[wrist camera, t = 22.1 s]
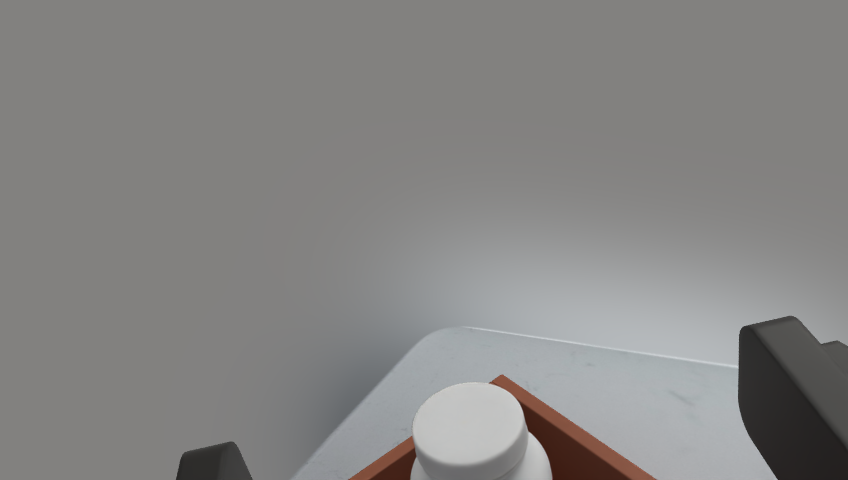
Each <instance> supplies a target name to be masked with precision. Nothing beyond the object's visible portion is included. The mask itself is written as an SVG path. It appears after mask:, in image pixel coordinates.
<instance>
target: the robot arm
mask: <svg viewBox="0 0 848 480" xmlns="http://www.w3.org/2000/svg"><path fill="white" fill-rule="evenodd" d="M738 402H739V408H740V413H741V417H742V420H743V423H744V425H745V428H746V430H747V432H748V434H749V436H750V438H751V440H752V441H753V443H754V444H755V446H756V447H757V449H758V450H759V452H760V453H761V455H762V456H763V458H764V459H765V461H766V463H767V464H768V466H769V467H770V469H771V470H772V472H773V473H774V475H775V476H776V478H777V479H778V480H848V346H847V345H845V344H843V343H841V342H839V341H833V342H828V343H824V344H820V343H819V341H818V340H817V339H816V338H815V337H814V336H813V335H812V334H811V333H810V332H809V330H808V329H807V328H806V327H805V326H804V325H803V324H802V322H801V321H799V320H798V319H797V318H796V317H793V316H787V317H783V318H778V319H774V320H769V321H765V322H761V323H756V324H752V325H748V326H744V327H742V329H741V330H740V334H739V378H738ZM176 480H252V477H251V475H250V473H249V471H248V469H247V466H246V464H245V462H244V460H243V457H242V455H241V453H240V451H239V449H238V447H237V445H236V444H235V443H234V442H227V443H222V444H218V445H214V446H209V447H205V448H200V449H196V450H192V451H187V452H185V453H184V454H183V455H182V457H181V460H180V464H179V469H178V473H177V478H176Z"/></svg>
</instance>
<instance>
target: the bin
mask: <svg viewBox="0 0 848 480" xmlns="http://www.w3.org/2000/svg"><path fill="white" fill-rule="evenodd" d="M488 384H492V385H496V386H499V387H501V388H503V389H505V390H506V391H508V392H509V393H511V394H512V395H513V396H514V397H515V398H516V400H517V401H518V402H519V404H520V406H521V408H522V410H523V414H524V418H525V423H526V425H527V429H528V431H529V432H530V433H531V434H532V435H533V436H534V437H535V438H536V439H537V440H538V441H539V443H540V444H541V445H542V447H543V449H544V450H545V452H546V454H547V457H548V460H549V463H550V468H551V472H552V478H553V480H656V479H655V478H653V477H652V476H651V475H649V474H648V473H646V472H645V471H643V470H642V469H640V468H639V467H637V466H636V465H634V464H633V463H632V462H630V461H629V460H627V459H626V458H624V457H623V456H621V455H620V454H618V453H617V452H615V451H614V450H612V449H611V448H610V447H608V446H607V445H605V444H604V443H602V442H601V441H599V440H598V439H596V438H595V437H593V436H592V435H590V434H589V433H588V432H586V431H585V430H583V429H582V428H580V427H579V426H577V425H576V424H574V423H573V422H571V421H570V420H568V419H567V418H566V417H564V416H563V415H561V414H560V413H558V412H557V411H555V410H554V409H552V408H551V407H549V406H548V405H547V404H545V403H544V402H542V401H541V400H539V399H538V398H536V397H535V396H533V395H532V394H530V393H529V392H527V391H526V390H525V389H523V388H522V387H520V386H519V385H517V384H516V383H514V382H513V381H511V380H510V379H508V378H507V377H505V376H504V375H500V376H498V377H497V378H495V379H494V380H493V381H492V382H490V383H488ZM416 457H417V456H416V452H415V445H414V441H413V437H412V436H411V437H410V438H408V439H407V440H405V441H404V442H402V443H401V444H399V445H398V446H397V447H395V448H394V449H392V450H391V451H389V452H388V453H386V454H385V455H383V456H382V457H381V458H379V459H378V460H376V461H375V462H373V463H372V464H370V465H369V466H367V467H366V468H365V469H363V470H362V471H360V472H359V473H357V474H356V475H354V476H353V477H351V478H350V479H349V480H410V477H411V471H412V467H413V464H414V461H415V459H416Z"/></svg>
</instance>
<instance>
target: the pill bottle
mask: <svg viewBox="0 0 848 480" xmlns="http://www.w3.org/2000/svg"><path fill="white" fill-rule="evenodd" d="M412 437H413V441H414V445H415V452H416V456H417V457H416V459H415V461H414V464H413V467H412V471H411V477H410V480H553V478H552V472H551V468H550V463H549V460H548V457H547V454H546V452H545V450H544V449H543V447H542V445H541V444H540V443H539V441H538V440H537V439H536V438H535V437H534V436H533V435H532V434H531V433H530V432H529V431H528V429H527V425H526V423H525V418H524V414H523V410H522V408H521V406H520V404H519V402H518V401H517V400H516V398H515V397H514V396H513V395H512V394H511V393H509V392H508V391H506V390H505V389H503V388H501V387H499V386H496V385H492V384H488V383H480V382H469V383H461V384H457V385H453V386H450V387H447V388H445V389H443V390H441V391H439V392H437V393H435V394H434V395H433V396H431V397H430V398H429V399H428V400H426V401H425V402H424V403H423V404H422V406H421V407H420V408H419V409H418V411H417V413H416V415H415V417H414V420H413V424H412Z"/></svg>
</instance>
